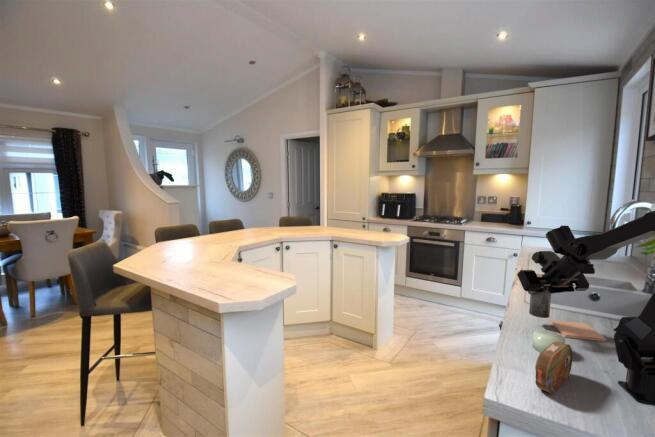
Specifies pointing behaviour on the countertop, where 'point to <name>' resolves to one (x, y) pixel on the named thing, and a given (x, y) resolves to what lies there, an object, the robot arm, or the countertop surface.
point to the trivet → (577, 330)
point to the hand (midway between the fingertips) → (537, 292)
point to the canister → (541, 302)
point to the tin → (553, 366)
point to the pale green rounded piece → (545, 339)
